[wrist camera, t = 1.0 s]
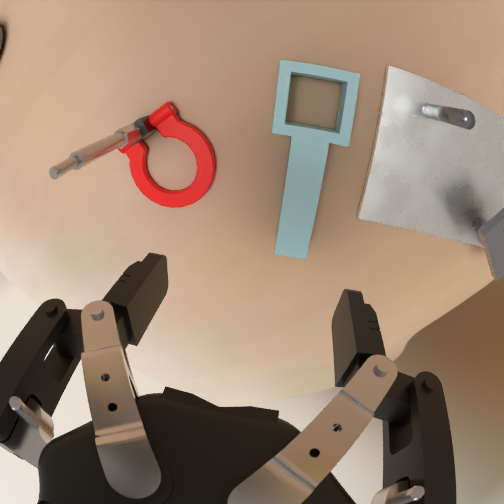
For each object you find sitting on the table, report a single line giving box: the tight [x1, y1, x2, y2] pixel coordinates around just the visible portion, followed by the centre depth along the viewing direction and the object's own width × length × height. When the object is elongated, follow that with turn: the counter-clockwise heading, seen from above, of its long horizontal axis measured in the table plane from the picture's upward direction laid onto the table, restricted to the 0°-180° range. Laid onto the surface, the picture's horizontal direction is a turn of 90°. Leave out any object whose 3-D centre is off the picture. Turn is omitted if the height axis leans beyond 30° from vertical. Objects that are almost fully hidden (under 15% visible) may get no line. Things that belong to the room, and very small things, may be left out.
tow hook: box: [49, 102, 216, 208], centre depth 21 cm, size 9×14×10 cm
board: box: [357, 65, 504, 248], centre depth 21 cm, size 15×18×1 cm
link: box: [272, 60, 360, 259], centre depth 23 cm, size 17×6×3 cm, turn 174°
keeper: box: [478, 208, 504, 281], centre depth 21 cm, size 7×5×6 cm
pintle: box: [422, 104, 475, 130], centre depth 16 cm, size 1×1×7 cm
